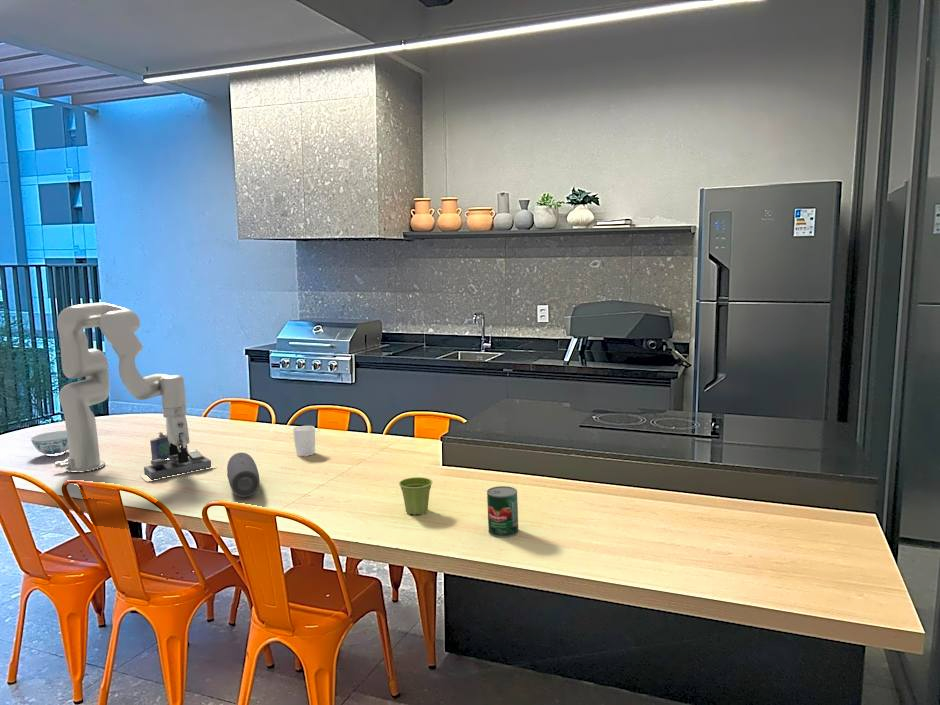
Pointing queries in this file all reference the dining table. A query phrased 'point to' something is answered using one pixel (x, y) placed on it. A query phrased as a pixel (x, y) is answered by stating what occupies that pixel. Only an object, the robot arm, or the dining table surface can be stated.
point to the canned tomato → (502, 511)
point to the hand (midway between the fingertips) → (179, 459)
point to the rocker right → (195, 455)
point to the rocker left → (159, 462)
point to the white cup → (304, 440)
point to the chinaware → (51, 442)
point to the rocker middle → (174, 458)
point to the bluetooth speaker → (243, 475)
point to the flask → (160, 447)
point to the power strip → (175, 468)
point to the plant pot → (416, 494)
